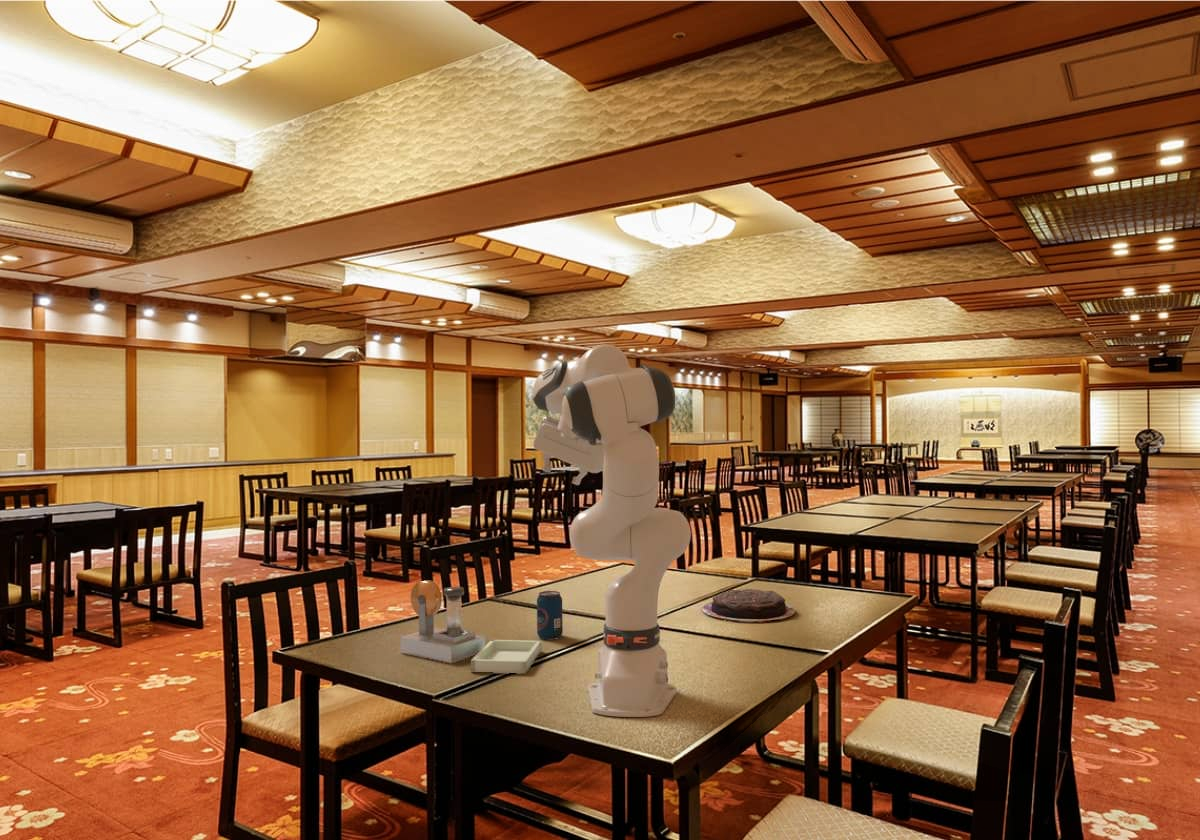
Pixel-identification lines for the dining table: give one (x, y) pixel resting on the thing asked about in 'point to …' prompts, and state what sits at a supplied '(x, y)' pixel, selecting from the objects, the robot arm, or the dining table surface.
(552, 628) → the soda can
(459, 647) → the block
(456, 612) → the dome-capped glass cylinder
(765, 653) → the dining table surface
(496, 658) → the tray
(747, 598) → the chocolate cake
